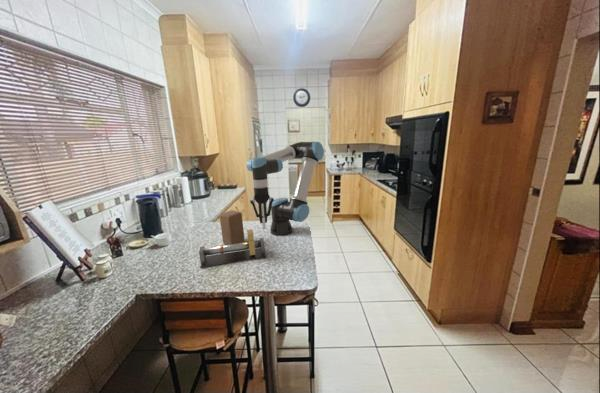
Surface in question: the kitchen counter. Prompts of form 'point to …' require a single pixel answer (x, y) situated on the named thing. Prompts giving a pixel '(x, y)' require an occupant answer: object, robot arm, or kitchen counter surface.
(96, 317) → the kitchen counter surface
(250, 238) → the collar
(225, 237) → the wooden block
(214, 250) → the pipe rig
